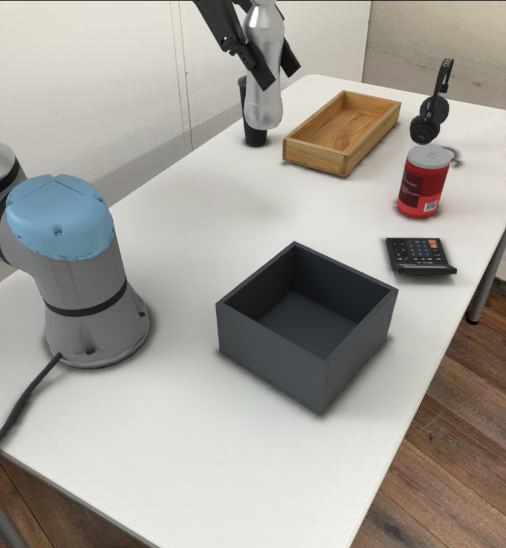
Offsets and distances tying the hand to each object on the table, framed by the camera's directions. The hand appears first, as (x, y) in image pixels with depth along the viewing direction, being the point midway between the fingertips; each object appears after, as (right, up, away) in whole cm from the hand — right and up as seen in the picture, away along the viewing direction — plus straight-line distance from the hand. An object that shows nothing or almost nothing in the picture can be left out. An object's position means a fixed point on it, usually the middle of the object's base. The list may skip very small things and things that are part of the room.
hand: (282, 78), depth 79 cm
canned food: (+27, -15, +20) cm, 37 cm away
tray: (+16, +5, +39) cm, 43 cm away
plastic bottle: (-3, -4, +8) cm, 9 cm away
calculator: (+24, -27, +9) cm, 37 cm away
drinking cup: (-4, +5, +40) cm, 41 cm away
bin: (+3, -41, -4) cm, 41 cm away
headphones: (+35, -1, +33) cm, 48 cm away
